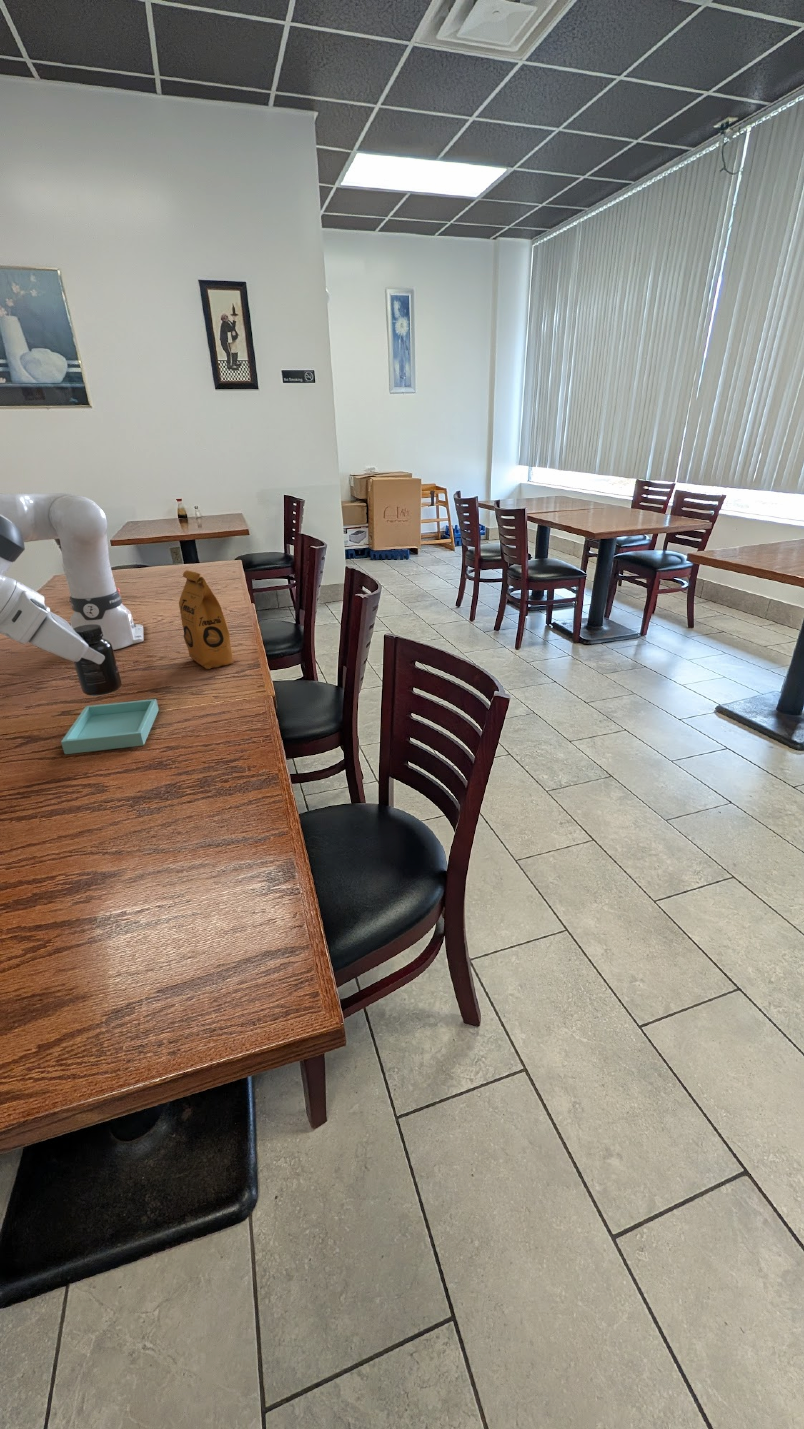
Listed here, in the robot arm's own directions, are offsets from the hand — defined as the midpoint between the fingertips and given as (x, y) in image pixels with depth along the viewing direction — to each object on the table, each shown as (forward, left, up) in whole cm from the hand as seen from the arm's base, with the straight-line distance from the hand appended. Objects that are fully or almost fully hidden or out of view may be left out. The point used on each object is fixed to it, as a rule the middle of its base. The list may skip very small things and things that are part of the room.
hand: (97, 654), depth 107 cm
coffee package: (-35, +15, -16) cm, 41 cm away
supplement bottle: (0, -1, -7) cm, 7 cm away
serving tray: (0, 0, -16) cm, 16 cm away
